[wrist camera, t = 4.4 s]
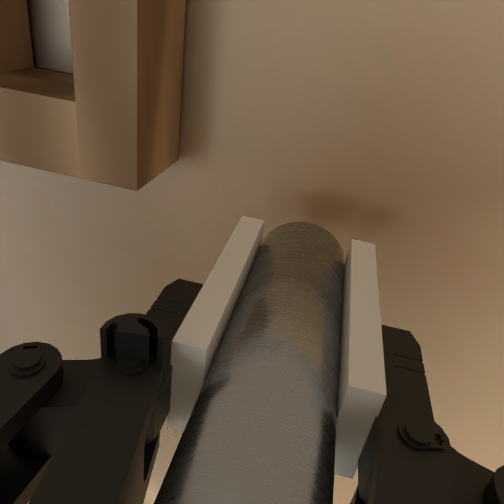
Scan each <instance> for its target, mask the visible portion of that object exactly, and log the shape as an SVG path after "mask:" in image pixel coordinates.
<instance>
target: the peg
mask: <svg viewBox="0 0 504 504" xmlns="http://www.w3.org/2000/svg"><path fill="white" fill-rule="evenodd" d="M344 263H345V260H344V254H343V251H342V248H341V246H340V244H339V243H338V241H337V240H336V239H335V237H334V236H332V235H331V234H330V233H329V232H328V231H326V230H325V229H323V228H321V227H319V226H317V225H314V224H310V223H305V222H293V223H287V224H284V225H281V226H279V227H277V228H275V229H274V230H272V231H271V232H270V233H269V234H268V235H267V236H266V237H265V238H264V240H263V241H262V243H261V246H260V248H259V250H258V253H257V255H256V258H255V260H254V262H253V265H252V267H251V270H250V272H249V275H248V277H247V279H246V282H245V284H244V287H243V289H242V292H241V294H240V296H239V299H238V301H237V304H236V306H235V308H234V311H233V313H232V316H231V318H230V321H229V323H228V325H227V328H226V330H225V333H224V335H223V338H222V340H221V342H220V345H219V347H218V350H217V352H216V354H215V357H214V359H213V362H212V364H211V367H210V369H209V371H208V374H207V376H206V379H205V381H204V384H203V386H202V388H201V391H200V393H199V396H198V398H197V400H196V403H195V405H194V408H193V410H192V413H191V415H190V417H189V420H188V422H187V425H186V427H185V430H184V432H183V434H182V437H181V439H180V442H179V444H178V446H177V449H176V451H175V454H174V456H173V459H172V461H171V463H170V466H169V468H168V471H167V473H166V476H165V478H164V480H163V483H162V485H161V488H160V490H159V492H158V495H157V497H156V500H155V502H154V504H333V485H334V465H335V445H336V425H337V404H338V384H339V364H340V344H341V323H342V303H343V283H344Z"/></svg>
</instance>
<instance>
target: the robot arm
mask: <svg viewBox="0 0 504 504" xmlns="http://www.w3.org/2000/svg"><path fill="white" fill-rule="evenodd" d="M263 225H264V220H260V219H256V218H251V217H246V216H242V217H241V219H240V221H239V223H238V224H237V226H236V228H235V230H234V231H233V233H232V235H231V237H230V239H229V240H228V242H227V244H226V246H225V247H224V249H223V251H222V253H221V255H220V256H219V258H218V260H217V262H216V263H215V265H214V267H213V269H212V271H211V272H210V274H209V276H208V278H207V279H206V281H205V283H204V285H203V284H199V283H195V282H190V281H186V280H182V279H178V280H176V281H174V282H172V283H171V284H169V285H167V286H166V287H165V288H164V289H163V291H162V292H161V294H160V295H159V296H158V298H157V300H156V301H155V302H154V304H153V305H152V306H151V309H149V311H148V312H147V314H146V315H144V314H134V313H128V314H124V315H119V316H116V317H114V318H112V319H110V320H108V321H107V322H106V323H105V324H104V325H103V326H102V327H101V328H100V339H101V358H99V359H93V360H62V356H61V354H60V352H59V350H58V349H57V348H55V347H54V346H52V345H50V344H47V343H41V342H31V343H23V344H20V345H17V346H14V347H11V348H10V349H8V350H7V351H5V352H3V353H2V354H0V504H27V503H28V502H29V501H30V502H29V504H143V502H144V498H145V495H146V491H147V487H148V484H149V480H150V477H151V473H152V469H153V466H154V462H155V458H156V455H157V451H158V448H159V439H160V430H161V428H162V426H163V424H164V421H165V419H166V417H167V415H168V421H167V428H170V429H174V430H178V431H181V432H184V430H185V427H186V425H187V422H188V420H189V417H190V415H191V413H192V410H193V408H194V405H195V403H196V400H197V398H198V396H199V393H200V391H201V388H202V386H203V384H204V381H205V379H206V376H207V374H208V371H209V369H210V367H211V364H212V362H213V359H214V357H215V354H216V352H217V350H218V347H219V345H220V342H221V340H222V338H223V335H224V333H225V330H226V328H227V325H228V323H229V321H230V318H231V316H232V313H233V311H234V308H235V306H236V304H237V301H238V299H239V296H240V294H241V292H242V289H243V287H244V284H245V282H246V279H247V277H248V275H249V272H250V270H251V267H252V265H253V262H254V260H255V258H256V255H257V253H258V250H259V248H260V244H261V237H262V231H263ZM422 361H423V359H422V354H421V349H420V345H419V344H418V342H417V341H416V339H415V338H414V337H413V335H412V334H411V332H410V331H406V330H402V329H397V328H393V327H389V326H384V325H381V315H380V302H379V289H378V276H377V263H376V250H375V244H373V243H368V242H364V241H359V240H354V239H352V240H351V244H350V247H349V251H348V254H347V258H346V261H345V265H344V283H343V303H342V323H341V344H340V364H339V384H338V404H337V425H336V445H335V465H334V474H338V475H342V476H345V477H349V478H352V479H353V476H354V474H355V471H356V469H357V467H358V486H357V489H356V491H355V493H354V496H353V498H352V500H351V503H350V504H504V465H503V466H502V467H500V468H498V469H497V470H496V472H495V473H494V472H492V471H491V470H489V469H487V468H485V467H483V466H481V465H479V464H477V463H476V462H474V461H472V460H470V459H468V458H466V457H465V456H463V455H462V454H460V453H458V452H457V451H456V450H455V449H454V448H452V447H451V446H450V442H449V438H448V437H447V435H446V434H445V432H444V431H443V429H442V428H441V427H440V426H439V425H438V424H437V423H435V422H434V418H433V412H432V407H431V402H430V396H429V391H428V386H427V380H426V375H424V374H425V370H424V365H423V363H422Z"/></svg>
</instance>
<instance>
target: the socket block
mask: <svg viewBox="0 0 504 504" xmlns="http://www.w3.org/2000/svg"><path fill="white" fill-rule="evenodd" d="M185 11H186V0H69V13H70V28H71V43H72V58H73V72H74V75H72V74H67V73H61V72H56V71H51V70H46V69H40V68H35V67H34V63H33V53H32V44H31V35H30V26H29V17H28V8H27V0H0V160H2V161H6V162H11V163H15V164H19V165H24V166H28V167H33V168H37V169H42V170H46V171H51V172H55V173H59V174H64V175H68V176H73V177H77V178H82V179H86V180H91V181H95V182H99V183H104V184H108V185H113V186H117V187H122V188H126V189H131V190H135V191H138V190H139V189H140V188H141V187H143V186H144V185H145V184H147V183H148V182H149V181H151V180H152V179H153V178H155V177H156V176H157V175H159V174H160V173H161V172H163V171H164V170H165V169H167V168H168V167H169V166H171V165H172V164H173V163H174V162H176V161H177V160H178V153H179V133H180V113H181V93H182V72H183V52H184V32H185Z"/></svg>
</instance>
